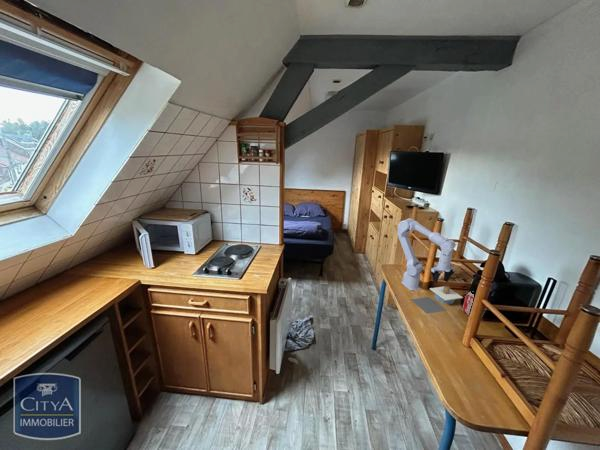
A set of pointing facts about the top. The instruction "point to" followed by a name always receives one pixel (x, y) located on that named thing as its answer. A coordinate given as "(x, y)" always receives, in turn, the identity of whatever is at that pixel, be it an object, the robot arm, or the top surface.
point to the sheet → (449, 296)
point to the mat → (428, 305)
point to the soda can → (468, 303)
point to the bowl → (444, 300)
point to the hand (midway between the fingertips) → (440, 281)
